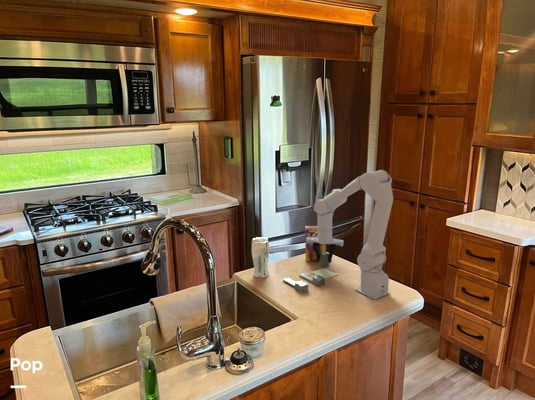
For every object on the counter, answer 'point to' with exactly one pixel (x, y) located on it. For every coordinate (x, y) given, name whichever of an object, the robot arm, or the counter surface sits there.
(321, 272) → the plate
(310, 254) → the candy box
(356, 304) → the counter surface
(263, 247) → the beer glass
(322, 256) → the grey tapered rounded piece
